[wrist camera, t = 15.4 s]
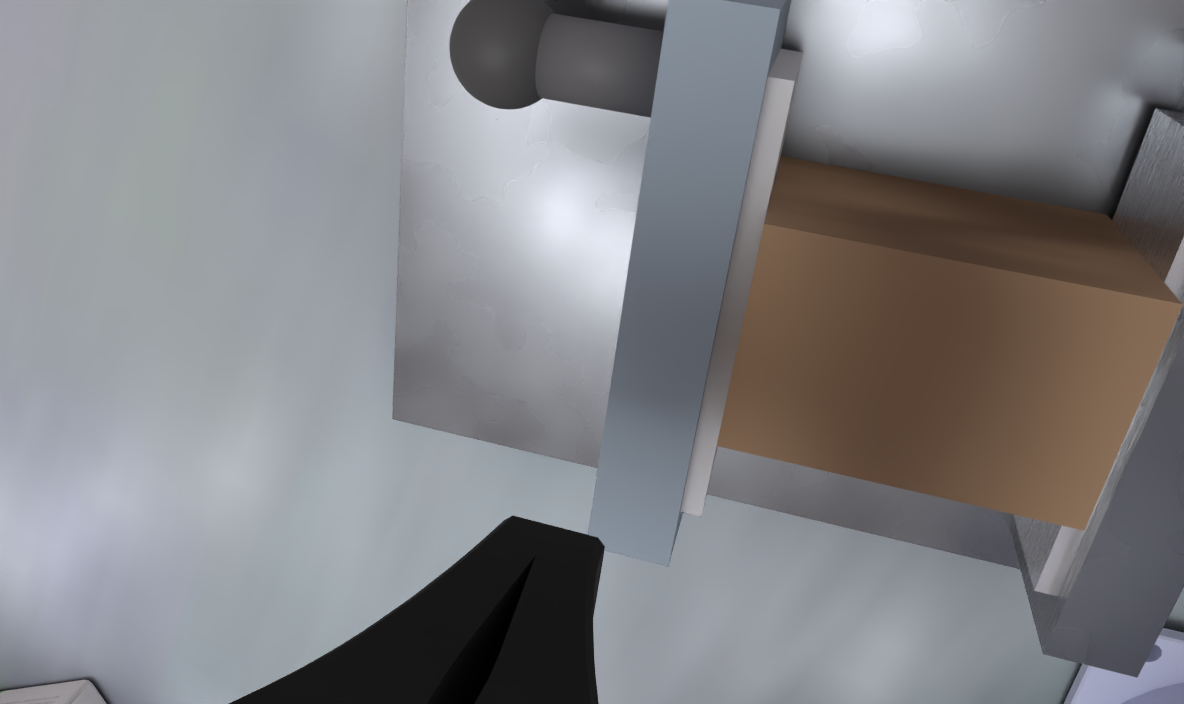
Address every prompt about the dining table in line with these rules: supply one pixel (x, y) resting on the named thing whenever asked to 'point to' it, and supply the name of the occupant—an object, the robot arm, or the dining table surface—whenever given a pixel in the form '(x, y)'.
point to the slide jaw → (661, 219)
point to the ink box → (54, 694)
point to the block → (944, 341)
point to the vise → (836, 137)
